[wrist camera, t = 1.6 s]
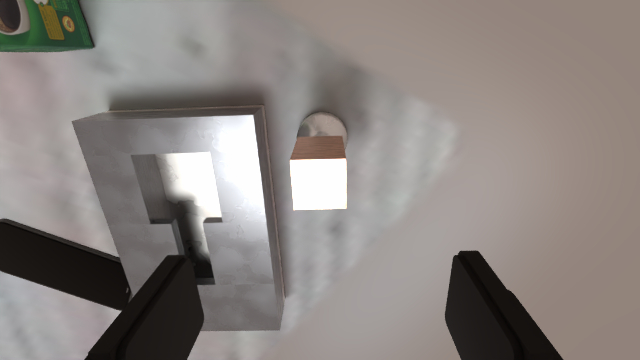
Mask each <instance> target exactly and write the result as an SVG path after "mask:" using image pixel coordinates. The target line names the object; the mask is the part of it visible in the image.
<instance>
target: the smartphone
mask: <svg viewBox="0 0 640 360" xmlns="http://www.w3.org/2000/svg"><path fill="white" fill-rule="evenodd" d="M0 271H2V272H4V273H7V274H10V275H13V276H16V277H19V278H22V279H25V280H28V281H31V282H34V283H37V284H40V285H43V286H47V287H50V288H53V289H56V290H59V291H62V292H65V293H68V294H71V295H74V296H77V297H80V298H83V299H86V300H89V301H92V302H95V303H98V304H101V305H104V306H107V307H110V308H113V309H116V310H120V311H122V310H123V309H124V308H125V307H126V305H127V304H128V303H129V302H130V300H131V299H132V296H133V294H132V291H131V288H130V285H129V283H128V280H127V277H126V274H125V271H124V268H123V266H122V263H121V260H120V258H117V257H115V256H112V255H109V254H106V253H103V252H100V251H98V250H95V249H92V248H89V247H86V246H83V245H80V244H77V243H74V242H72V241H69V240H66V239H63V238H60V237H57V236H54V235H52V234H49V233H46V232H43V231H40V230H37V229H34V228H31V227H29V226H26V225H23V224H20V223H17V222H14V221H11V220H8V219H1V220H0Z"/></svg>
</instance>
